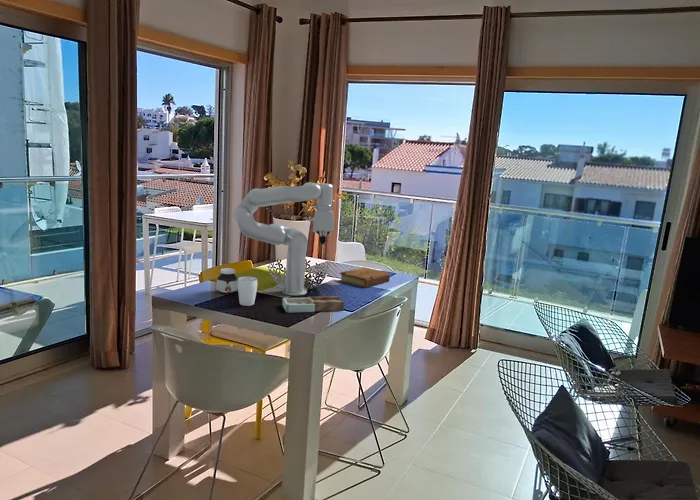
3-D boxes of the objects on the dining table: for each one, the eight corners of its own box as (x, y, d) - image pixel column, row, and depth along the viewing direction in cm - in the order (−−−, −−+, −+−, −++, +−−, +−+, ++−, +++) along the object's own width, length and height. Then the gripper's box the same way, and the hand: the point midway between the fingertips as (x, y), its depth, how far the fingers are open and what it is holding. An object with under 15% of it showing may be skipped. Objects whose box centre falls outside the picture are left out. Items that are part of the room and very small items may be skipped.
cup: (257, 301, 254) (258, 277, 252) (255, 307, 245) (256, 281, 243) (238, 300, 254) (239, 275, 251) (235, 306, 245) (236, 280, 242)
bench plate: (314, 311, 245) (314, 302, 244) (309, 305, 254) (310, 296, 253) (343, 310, 249) (344, 301, 249) (338, 304, 258) (338, 296, 257)
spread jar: (215, 294, 262) (215, 270, 260) (221, 288, 273) (221, 265, 271) (239, 295, 262) (240, 272, 259) (244, 289, 273) (245, 267, 270)
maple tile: (306, 310, 246) (303, 306, 245) (304, 307, 251) (301, 303, 250) (314, 302, 246) (311, 299, 245) (312, 299, 251) (308, 296, 250)
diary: (366, 289, 293) (367, 279, 291) (339, 282, 303) (340, 272, 302) (389, 282, 311) (389, 272, 310) (363, 276, 322) (363, 266, 320)
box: (286, 312, 240) (286, 305, 240) (282, 305, 251) (282, 298, 250) (314, 311, 244) (315, 304, 244) (309, 304, 255) (309, 297, 254)
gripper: (310, 208, 265) (308, 244, 269) (340, 209, 268) (337, 245, 271) (308, 206, 272) (307, 242, 276) (337, 207, 275) (335, 243, 278)
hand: (322, 243), depth 273 cm, fingers closed
